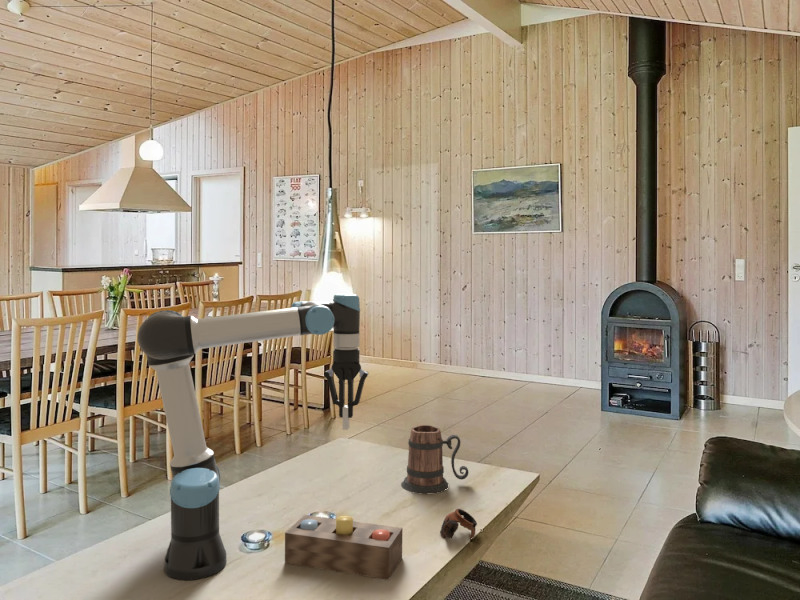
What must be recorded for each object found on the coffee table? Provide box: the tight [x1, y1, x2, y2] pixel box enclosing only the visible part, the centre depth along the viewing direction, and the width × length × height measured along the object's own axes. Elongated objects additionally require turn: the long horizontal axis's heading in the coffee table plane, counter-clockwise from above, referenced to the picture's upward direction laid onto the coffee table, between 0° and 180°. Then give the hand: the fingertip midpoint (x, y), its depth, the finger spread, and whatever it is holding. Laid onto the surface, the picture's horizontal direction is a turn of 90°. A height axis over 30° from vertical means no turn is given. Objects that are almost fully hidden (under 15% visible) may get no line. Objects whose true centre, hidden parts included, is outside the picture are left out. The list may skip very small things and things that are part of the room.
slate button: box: [301, 519, 317, 531], centre depth 166 cm, size 4×4×4 cm
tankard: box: [400, 424, 469, 495], centre depth 219 cm, size 24×17×20 cm
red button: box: [372, 529, 390, 541], centre depth 161 cm, size 4×4×4 cm
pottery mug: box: [439, 508, 478, 540], centre depth 178 cm, size 12×10×8 cm
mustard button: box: [335, 515, 354, 536], centre depth 163 cm, size 4×4×4 cm
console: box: [284, 514, 403, 580], centre depth 164 cm, size 28×12×8 cm, turn 74°
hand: (346, 428), depth 182 cm, fingers closed
